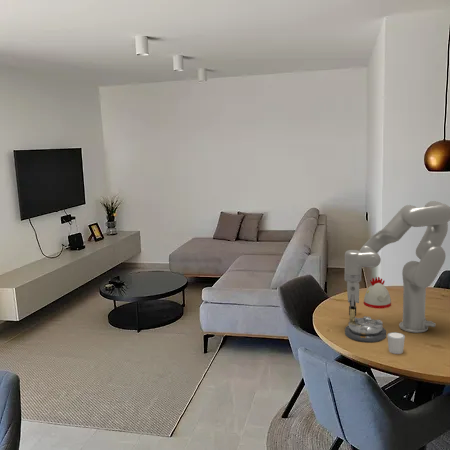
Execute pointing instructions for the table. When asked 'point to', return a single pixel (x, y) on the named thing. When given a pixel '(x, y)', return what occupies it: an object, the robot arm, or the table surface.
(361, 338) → the dark grey round base
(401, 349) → the grey white-topped cylinder
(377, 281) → the white crested helmet
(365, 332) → the grey tabbed disc
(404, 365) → the table surface
